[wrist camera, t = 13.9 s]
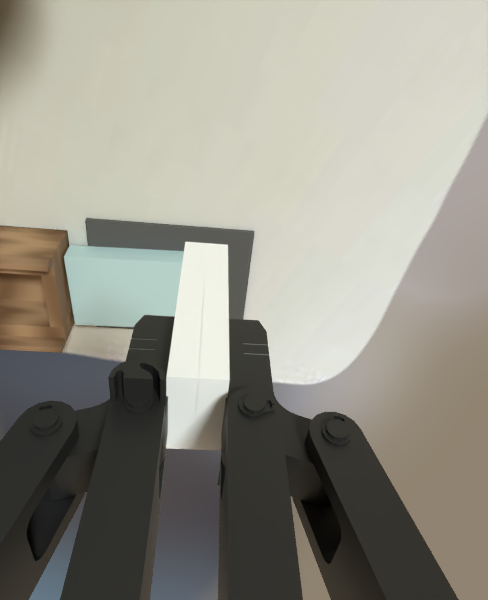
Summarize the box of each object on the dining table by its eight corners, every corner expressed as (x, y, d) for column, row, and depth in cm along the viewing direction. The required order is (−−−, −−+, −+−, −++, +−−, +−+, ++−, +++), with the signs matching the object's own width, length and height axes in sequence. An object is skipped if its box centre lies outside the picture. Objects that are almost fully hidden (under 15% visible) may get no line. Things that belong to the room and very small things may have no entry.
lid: (80, 311, 50) (75, 324, 48) (70, 245, 45) (63, 256, 43) (192, 316, 51) (191, 329, 49) (193, 251, 46) (192, 263, 44)
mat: (97, 324, 52) (96, 326, 51) (86, 218, 44) (85, 220, 44) (240, 332, 53) (241, 334, 53) (254, 231, 45) (254, 233, 45)
